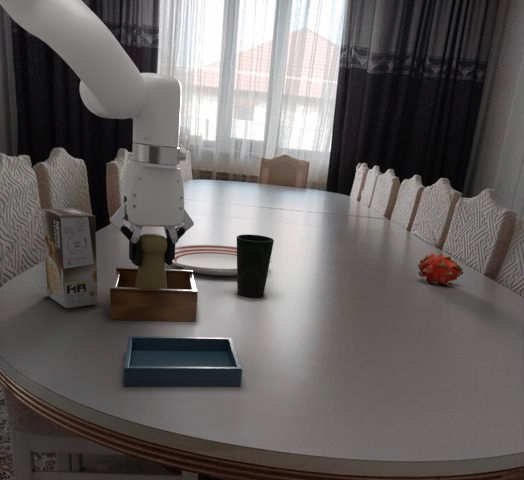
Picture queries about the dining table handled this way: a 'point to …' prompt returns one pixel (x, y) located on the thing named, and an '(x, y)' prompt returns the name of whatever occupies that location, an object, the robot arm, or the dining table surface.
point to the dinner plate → (207, 259)
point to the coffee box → (70, 256)
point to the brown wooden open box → (154, 297)
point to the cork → (152, 262)
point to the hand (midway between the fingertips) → (151, 262)
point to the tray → (181, 362)
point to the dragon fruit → (439, 269)
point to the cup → (253, 264)
